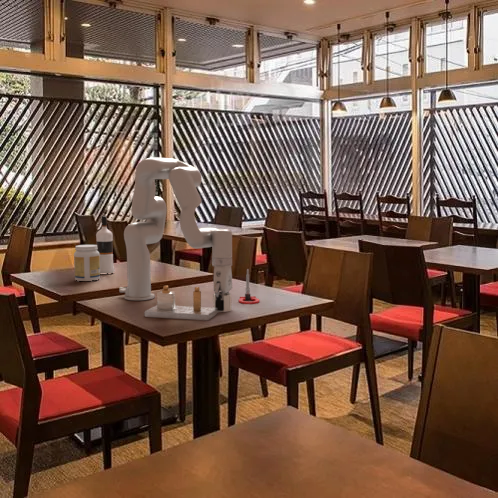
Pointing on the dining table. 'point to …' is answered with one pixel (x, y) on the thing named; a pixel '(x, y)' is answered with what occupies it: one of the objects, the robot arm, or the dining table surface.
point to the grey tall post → (248, 293)
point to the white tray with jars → (180, 307)
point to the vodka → (105, 248)
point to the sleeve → (225, 302)
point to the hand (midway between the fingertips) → (222, 308)
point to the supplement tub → (86, 263)
